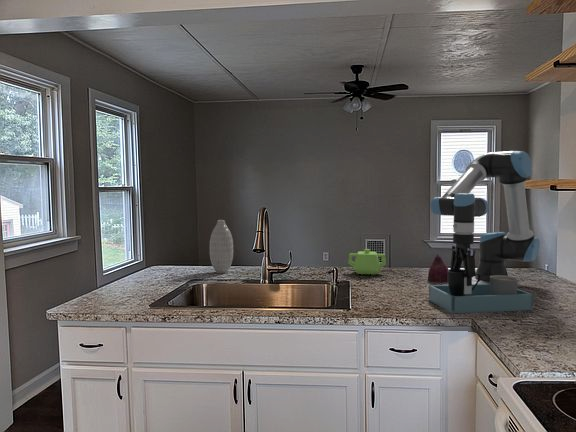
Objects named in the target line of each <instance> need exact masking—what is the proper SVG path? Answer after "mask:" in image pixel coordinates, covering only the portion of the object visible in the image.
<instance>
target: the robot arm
mask: <svg viewBox="0 0 576 432" xmlns="http://www.w3.org/2000/svg"><path fill="white" fill-rule="evenodd" d="M531 175H532V160H531V157H530V156H529V153H527V152H525V151H524V150H521V151H520V150H509V151H492V152H487V153H484V154H482V155H479V156H478V157H476V158H474V160H472V161H471V162H470V163H469V164H468V165H467V166H466V167H465V171H464V172H463V174H462V175H460V177H459V178H458V179H457V180H456V181H455V182H454V183H453V185H451V186H450V187H449V189H448V190H447V191H446V192H445V193H444V194H443V195H442V196H435V197H433V198H432V199H431V200H430V207H429V208H430V211H431V213H432V214H433V215H437V216H450V217H451V216H453V225H452V227H453V228H452V229H453V235H452V243H453V244H455V245H452V246H451V259H450V260H451V261H450V266H449V267H450V269H461V267H462V264H463V270H465V275H466V276H464V294H472V284H473V282H472V281H473V278H474V277H475V279H477V280H478V275H476V273H479V274H480V280H482V281H487V282H490V276H494V275H503V276H509V274H508V270H507V268H506V267H507V266H506V262H505V261H506V260H508V261H518V262H534V261H535V260H536V259H537V256H538V254H539V250H540V243H541V242H540V239H539V238H538V237H537V236H535V235H534V232H533V230H531V229H530V223H529V213H528V212H529V211H528V205H527V197H526V196H527V193H526V186H525V183H526V182H527V181H528V177H530V176H531ZM489 178H498V180H499V181H498V182H499V184H501V185H502V186H503V193H504V200H505V207H506V216H507V223H508V230H509V231H508V232H507V233H506V232H505V231H495V232H494V231H493V232H487V233H481V234H480V238H479V241H478V242H479V262H478V265H477V268H476V259H475V255H476V251H475V249H472V248H471V245H473V244H474V241H475V239H474V237H475V235H474V233H475V217H476V218H477V217H482V216H486V214H488V212H489V210H490V205H489V202H488V200H486V199H485V198H483V197H476V196H475V194H474V193H471V192H472V191H473V190H474V188H476V186H477V185H478V183H480V182H483V181H484V180H485V179H489ZM450 269H449V270H450Z"/></svg>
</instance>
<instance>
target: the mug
mask: <svg viewBox="0 0 576 432" xmlns="http://www.w3.org/2000/svg"><path fill="white" fill-rule="evenodd" d="M476 275H478V279H477V281H476V282H475V283H474V284H475V285H474V287H473V288H472V291H473V289H474V288H475V287H476V285H477V284H479V282H480V274H479V273H476ZM464 276H466V275H465V270H464V268H463V269H461V268H460V269H448V271H447V279H448V282H447V285H448V286H449V289H450V293H451V295H453V296H466V295H468V294H464Z"/></svg>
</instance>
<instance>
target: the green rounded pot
mask: <svg viewBox="0 0 576 432" xmlns="http://www.w3.org/2000/svg"><path fill="white" fill-rule="evenodd" d="M363 250H364V251H361V250H360V251H357V253H349V254H348V261H347V264H348V265H350V266H351V267H353V268H354V271H355V273H356V274H357V275H359V274H361V275H360V276H364V275H370V274H371V275H370V276H376V275H378V274H379V273H380V269H382V267H384V266H386V265H387V258H386V253H377V252H376V251H371V249H370V248H364V249H363ZM353 257H355V260H354V261H353ZM380 257H381V262H380V259H379V258H380ZM363 274H364V275H363Z"/></svg>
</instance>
